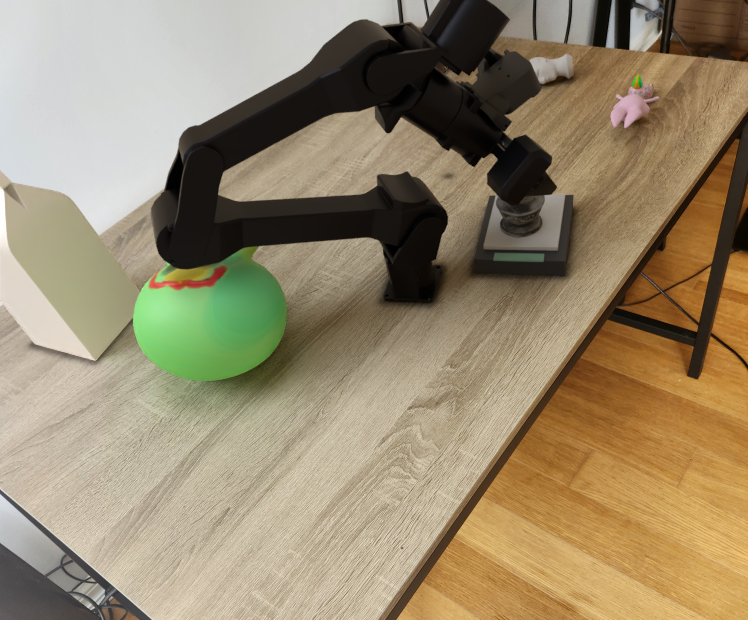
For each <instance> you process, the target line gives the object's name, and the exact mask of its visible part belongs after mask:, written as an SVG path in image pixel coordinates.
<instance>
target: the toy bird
mask: <svg viewBox="0 0 748 620" xmlns="http://www.w3.org/2000/svg"><path fill="white" fill-rule="evenodd" d="M259 247H260V246H258V247H247V248H243V249H241V250H239V251H238V252H236V253H235V254H233V255H231V256H230V257H228V258H226V259H225V260H223V261H222V262H219V263H215V264H211V265H207V266H202V267H198V268H194V269H188V270H186V269H177V268H174V267H172V265H170V264H169V263H167V262H166V261H164V262H165V264H166V265H165V266H164V267H163V268H161V269H159V270H158V271H156V272H155V273H154V274H153V275H152V276H151V277H150V278H149V279H148V280H147V281H146V282H145V284H144V285H143V287H142V288H141V290H139V291H140V293H139V295H138V298H137V300H136V304H135V307H134V313H133V318H132V325H133V332H134V336H135V339H136V342H137V344H138V346H139V348H140V349H141V351H142V353H143V354H144V355H145V356H146V357H147V359H148V360H150V361H151V362H152V363H153V365H155V366H157V367H158V368H159V369H161V370H163V371H164V372H166V373H169V374H170V375H173V376H176V377H178V378H181V379H185V380H191V381H199V382H200V381H201V382H211V381H220V380H225V379H230V378H233V377H236V376H240V375H243V374H245V373H246V372H249V371H251V370H253V369H254V368H256V367H258V366H259V365H261V364H262V363H264V362H265V361H266V360H268V358H269V357H270V356H271V355H272V354H273V353H274V351H275V350H276V349H277V347H278V346H279V345H280V343H281V340H283V339H282V338H283V336H284V334H285V330H286V326H287V320H288V304H287V299H286V296H285V292H284V289H283V288H282V286H281V284H280V283H279V281H278V280H277V279H276V277H275V276H274V274H272V272H270V270H269V269H267V268H266V267H265V266H264V265H262V264H261V263H259V262H257V261H256V260H254V259H253V256H254V255H255V253H256V252H257V250H258V249H259Z"/></svg>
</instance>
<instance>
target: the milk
mask: <svg viewBox="0 0 748 620" xmlns="http://www.w3.org/2000/svg"><path fill="white" fill-rule="evenodd" d="M140 291H141V290H140V289H138V287H137V286H136V284H135V283H134V281H133V280H132V279H131V278H130V276H129V275H128V273H127V272H126V270H125V269H124V268H123V267H122V265H121V264H120V262H119V261H118V259H117V258H116V257H115V255H114V254H113V253H112V252H111V250H110V249H109V248H108V246H107V245H106V243H105V242H104V241H103V239H102V238H101V237H100V235H99V234H98V232H97V231H96V230H95V228H94V227H93V226H92V224H91V223H90V221H89V220H88V219H87V218H86V216H85V214H84V213H83V212H82V211H81V209H80V208H79V206H78V205H77V204H76V202H75V201H74V200H73V199H72V198H71V197H70V196H69V195H67V194H65V193H63V192H60V191H57V190H53V189H48V188H43V187H39V186H32V185H28V184H23V183H22V184H21V183H17V182H12V180H11V179H10V178H9V177H8V176H7V175H6V174H5V173H4V172H3V171H2V170H1V169H0V303H1V304H2V306H4V308H5V309H6V310H7V311H8V312H9V314H10V315H11V317H12V318H13V319H14V320H15V322H16V323H17V324H18V326H20V328H21V329H22V330H23V332H24V333H25V334H26V335H27V337H28V338H29V339H30V340H31V342H33V344H34V345H36V346H40V347H43V348H47V349H51V350H54V351H58V352H60V353H61V352H62V353H65V354H69V355H73V356H76V357H79V358H83V359H86V360H91V361H94V362H96V361H97V360H98V359H99V358H100V357H101V356H102V355H103V353H104V352H105V351H106V350H107V349H108V348H109V346H110V345H111V344H112V343H113V342H114V341H115V340H116V338H117V337H118V336H119V335H120V334H121V333H122V331H123V330H124V329H125V328H126V327H127V325H128V324H130V322H131V321H132V320H133V313H134V307H135V304H136V300H137V298H138V295H139V293H140Z"/></svg>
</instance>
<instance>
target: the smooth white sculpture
mask: <svg viewBox="0 0 748 620" xmlns="http://www.w3.org/2000/svg"><path fill="white" fill-rule="evenodd" d="M528 61H530V62H531V64H532V66H533V69H534V71H535V73H536V76H537V78H538V80H539V82H540V85H545V84H547V83H550V82H554V81H555V80H557V78H558V77H564V78H566V79H568V80H570V79H571V78H572V77H574V73H575V72H574V63H573V61H574V60H573V55H571V54H569V53H565V54H564V55H562V56H561V57H557V58H547V57H543V56H535V57H532V58H531V59H528Z"/></svg>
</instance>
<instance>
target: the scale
mask: <svg viewBox="0 0 748 620" xmlns="http://www.w3.org/2000/svg"><path fill="white" fill-rule="evenodd" d="M544 196H545V202H544V205H543V206H542V209H541V211H540V213H539V215H540V216H541V218H542V226H541V228H540V229H539V231H537V232H536V233H534V234H532V235H530V236H526V237H512V236H508V235H506V234H504V233H503V232H502V231H501V229H500V222H501V219H502V218H503V217H502V215H501V214H500V212H499V210H498V208H497V206H496V200H497V197H498V196H497V194H496V193H495V194H493V195H492V194H490V195H489V196H488V200H487V204H486V207H485V212H484V215H483V219H482V223H481V228H480V232H479V235H478V239H477V243H476V247H475V250H474V254H473V255H474V256H473V267H474V274H481V275H482V274H483V275H486V274H487V275H488V274H489V275H515V276H516V275H521V276H550V277H552V276H553V277H565V275H566V269H567V261H568V253H569V244H570V238H571V237H570V236H571V229H572V221H573V214H574V199H575V197H574V196H575V195H574V194H566V193H553V194H551V195H544Z"/></svg>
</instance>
